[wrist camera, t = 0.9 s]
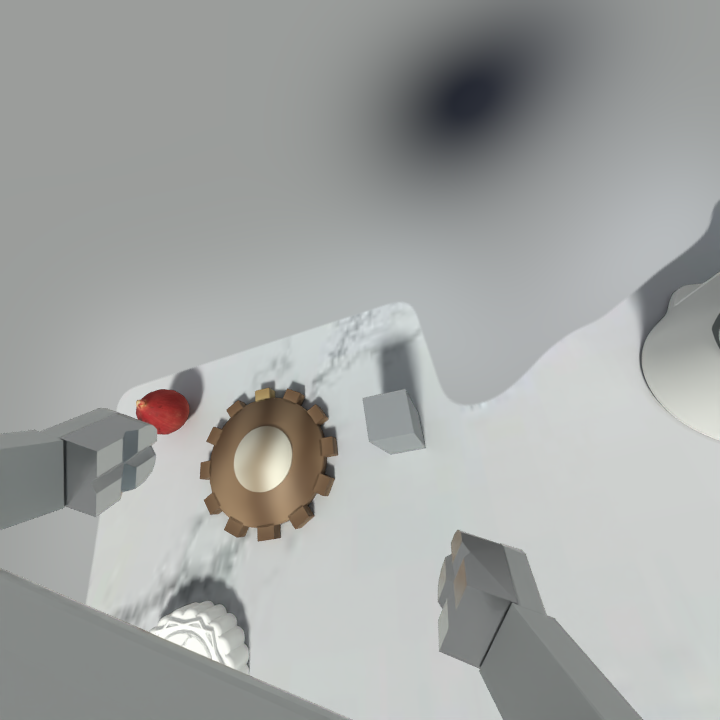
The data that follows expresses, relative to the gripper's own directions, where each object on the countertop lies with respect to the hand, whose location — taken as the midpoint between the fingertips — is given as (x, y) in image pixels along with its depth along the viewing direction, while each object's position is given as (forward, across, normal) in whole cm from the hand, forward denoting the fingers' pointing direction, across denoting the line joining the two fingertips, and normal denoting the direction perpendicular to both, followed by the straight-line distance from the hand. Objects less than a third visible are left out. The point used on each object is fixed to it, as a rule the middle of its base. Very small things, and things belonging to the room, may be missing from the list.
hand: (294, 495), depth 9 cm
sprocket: (+28, +11, +20) cm, 36 cm away
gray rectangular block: (+29, -4, +12) cm, 32 cm away
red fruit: (+32, +26, +21) cm, 46 cm away
